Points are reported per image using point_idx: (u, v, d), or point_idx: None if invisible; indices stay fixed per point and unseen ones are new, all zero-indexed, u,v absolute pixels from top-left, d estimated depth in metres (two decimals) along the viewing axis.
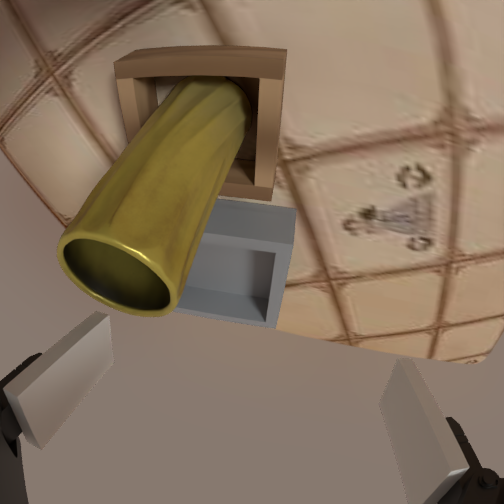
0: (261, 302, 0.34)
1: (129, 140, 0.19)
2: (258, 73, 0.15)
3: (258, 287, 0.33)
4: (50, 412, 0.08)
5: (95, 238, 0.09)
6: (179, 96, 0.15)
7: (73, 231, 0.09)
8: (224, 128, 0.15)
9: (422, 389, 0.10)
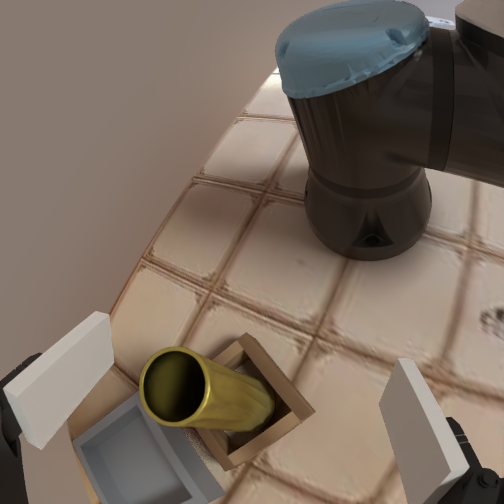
0: None
1: None
2: (293, 408, 0.24)
3: None
4: (50, 412, 0.08)
5: (203, 365, 0.17)
6: (252, 379, 0.26)
7: (196, 353, 0.18)
8: (255, 411, 0.23)
9: (422, 389, 0.10)
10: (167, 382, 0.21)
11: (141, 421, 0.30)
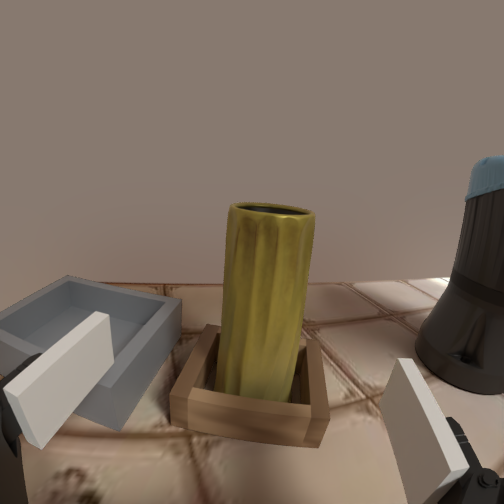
0: None
1: None
2: (314, 404, 0.18)
3: None
4: (50, 412, 0.08)
5: (313, 212, 0.18)
6: None
7: (311, 212, 0.19)
8: (280, 362, 0.19)
9: (422, 389, 0.10)
10: None
11: (138, 327, 0.28)
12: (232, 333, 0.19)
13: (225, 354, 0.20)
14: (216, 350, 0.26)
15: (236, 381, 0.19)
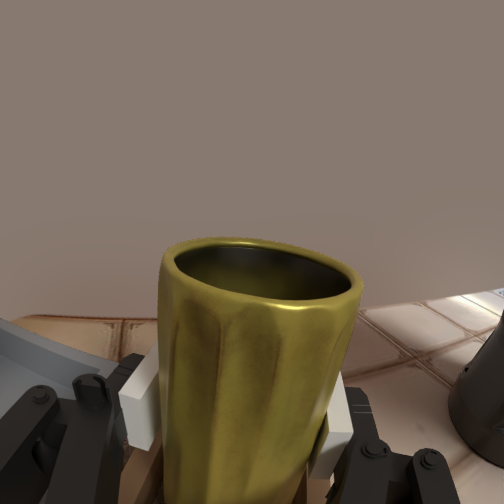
0: None
1: None
2: None
3: None
4: (157, 411, 0.10)
5: (357, 275, 0.08)
6: None
7: None
8: None
9: None
10: None
11: (71, 396, 0.17)
12: (180, 485, 0.08)
13: (173, 499, 0.09)
14: None
15: None
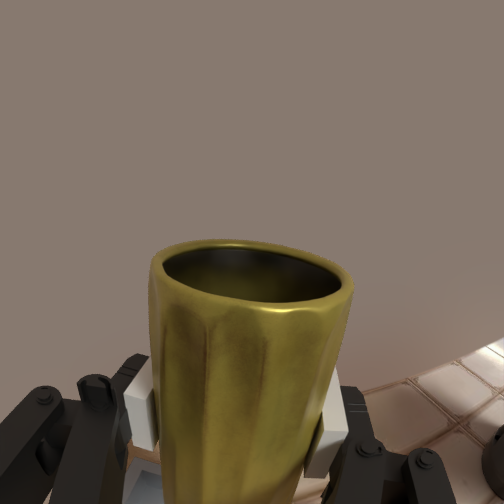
0: None
1: None
2: None
3: None
4: None
5: (348, 275, 0.08)
6: None
7: None
8: None
9: None
10: None
11: None
12: (177, 487, 0.08)
13: (171, 500, 0.09)
14: None
15: None
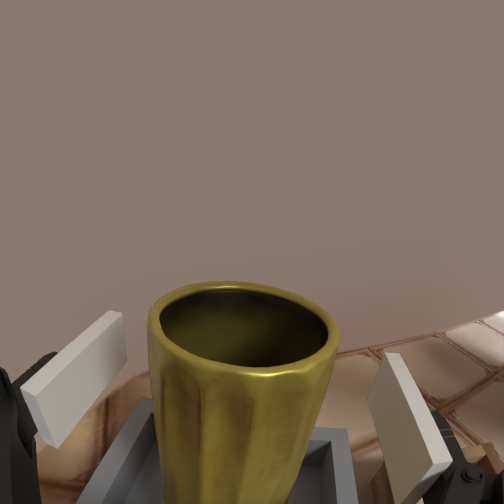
0: None
1: None
2: None
3: None
4: (66, 411, 0.08)
5: (335, 326, 0.08)
6: None
7: None
8: None
9: (408, 383, 0.10)
10: None
11: None
12: None
13: None
14: None
15: None
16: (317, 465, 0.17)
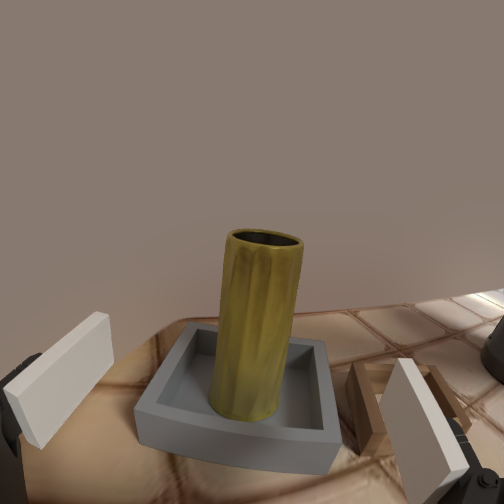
0: None
1: (390, 365, 0.28)
2: (459, 416, 0.19)
3: None
4: (50, 412, 0.08)
5: (302, 241, 0.21)
6: None
7: None
8: (269, 372, 0.21)
9: (422, 389, 0.10)
10: None
11: None
12: (228, 346, 0.21)
13: (221, 364, 0.22)
14: None
15: (231, 388, 0.21)
16: (306, 369, 0.30)
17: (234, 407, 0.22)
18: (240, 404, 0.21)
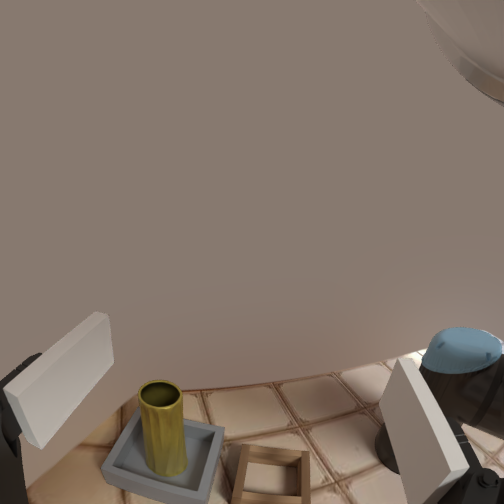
0: None
1: (270, 448, 0.39)
2: (303, 496, 0.30)
3: None
4: (50, 412, 0.08)
5: (180, 398, 0.32)
6: (185, 447, 0.35)
7: None
8: (171, 455, 0.32)
9: (422, 389, 0.10)
10: (154, 399, 0.34)
11: (196, 442, 0.40)
12: (147, 442, 0.32)
13: (146, 448, 0.32)
14: (248, 457, 0.38)
15: (152, 460, 0.32)
16: None
17: (156, 468, 0.32)
18: (159, 468, 0.32)
